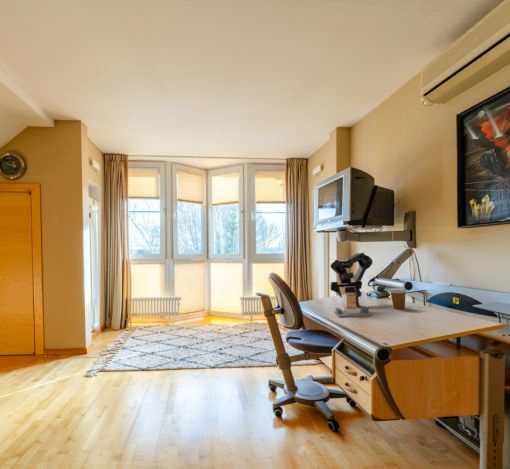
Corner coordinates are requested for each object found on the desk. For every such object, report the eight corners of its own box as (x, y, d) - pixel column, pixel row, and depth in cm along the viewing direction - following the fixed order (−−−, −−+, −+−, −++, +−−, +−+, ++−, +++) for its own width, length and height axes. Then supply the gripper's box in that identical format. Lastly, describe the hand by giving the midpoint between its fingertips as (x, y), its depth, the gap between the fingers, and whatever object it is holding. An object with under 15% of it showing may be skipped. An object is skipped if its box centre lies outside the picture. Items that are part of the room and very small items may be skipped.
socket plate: (334, 312, 215) (334, 306, 215) (364, 311, 214) (364, 305, 214) (338, 317, 201) (338, 310, 201) (371, 315, 200) (370, 309, 200)
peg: (347, 311, 210) (346, 293, 210) (354, 311, 209) (353, 292, 210) (349, 313, 205) (347, 294, 206) (356, 312, 205) (355, 293, 205)
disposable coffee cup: (408, 310, 210) (406, 289, 210) (391, 310, 213) (389, 290, 213) (407, 307, 219) (405, 287, 219) (390, 307, 222) (389, 287, 222)
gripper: (330, 269, 220) (334, 289, 208) (360, 267, 219) (366, 287, 208) (328, 280, 227) (333, 300, 216) (357, 278, 227) (363, 298, 216)
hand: (349, 296), depth 214 cm, fingers open, 9 cm apart
